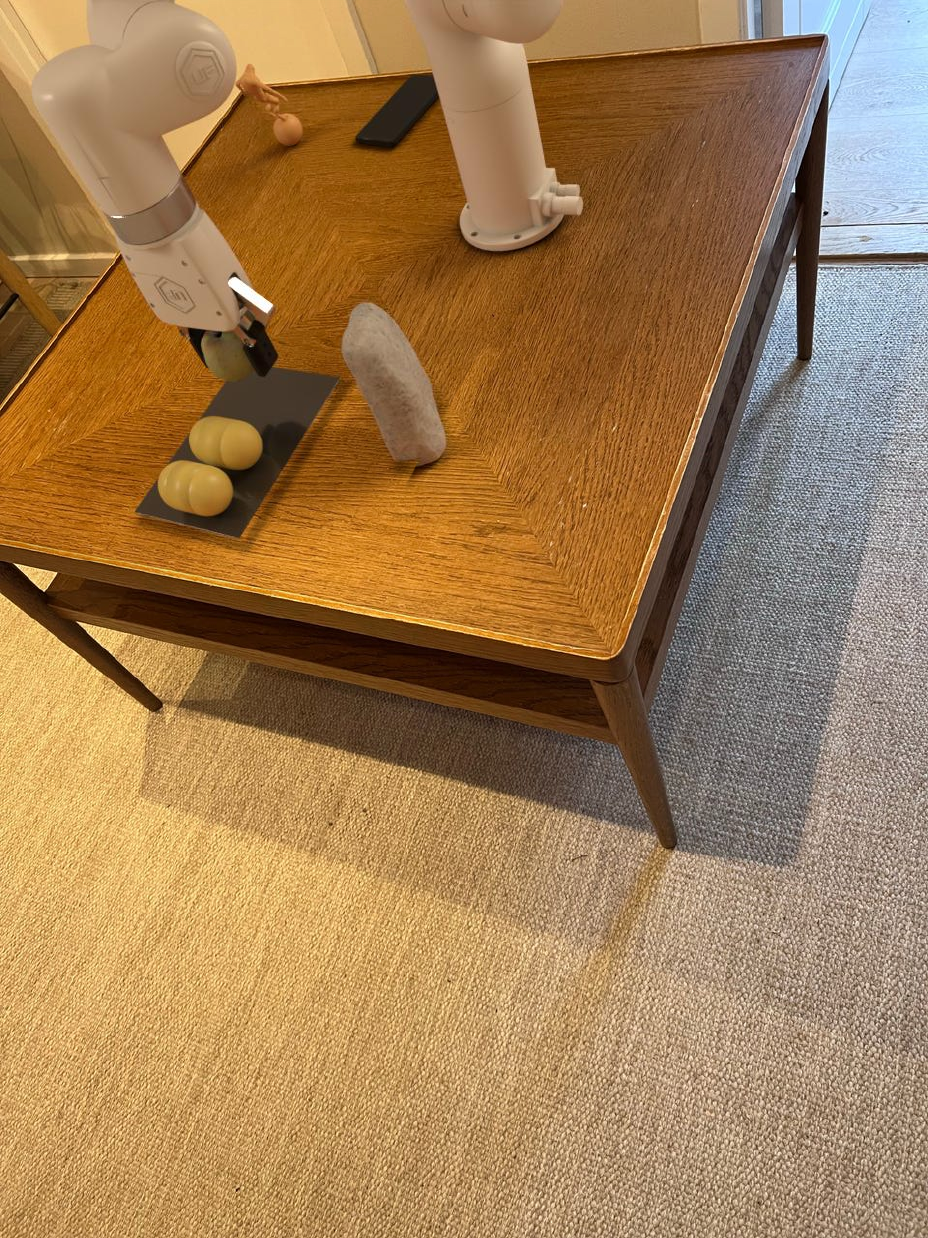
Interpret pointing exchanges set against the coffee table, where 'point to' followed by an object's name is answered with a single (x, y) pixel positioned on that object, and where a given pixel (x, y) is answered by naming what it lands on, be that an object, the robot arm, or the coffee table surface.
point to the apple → (226, 354)
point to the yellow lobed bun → (225, 443)
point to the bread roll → (195, 488)
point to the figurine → (285, 124)
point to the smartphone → (400, 112)
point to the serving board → (281, 421)
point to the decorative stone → (393, 385)
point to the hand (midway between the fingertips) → (242, 361)
